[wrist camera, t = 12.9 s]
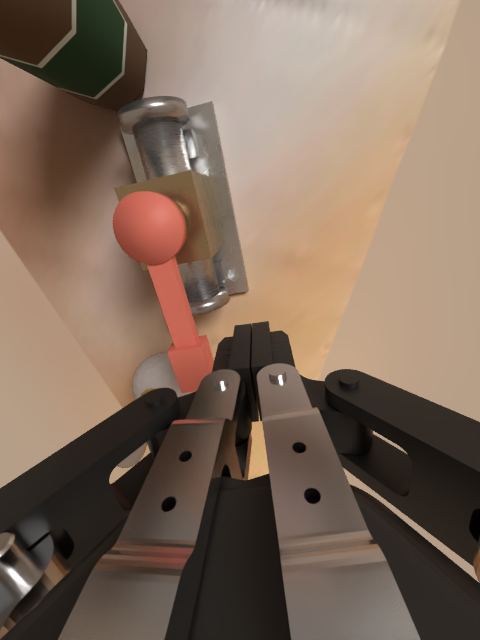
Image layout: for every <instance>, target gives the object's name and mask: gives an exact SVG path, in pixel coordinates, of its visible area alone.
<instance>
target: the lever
mask: <svg viewBox="0 0 480 640" xmlns="http://www.w3.org/2000/svg"><path fill="white" fill-rule="evenodd" d="M113 229H114V234H115V237H116V239H117V241H118V243H119V245H120V246H121V248H122V249H123V250H124V251H125V253H127V254H128V255H129V256H130V257H131V258H133V259H135V260H136V261H139V262H141V263H145V264H147V267H148V270H149V272H150V275H151V278H152V281H153V284H154V287H155V290H156V293H157V296H158V299H159V302H160V305H161V308H162V311H163V314H164V317H165V320H166V323H167V326H168V328H169V331H170V334H171V337H172V340H173V344H172V345H171V347H170V348H169V350H168V352H167V353H168V356H169V358H170V361H171V364H172V367H173V370H174V373H175V375H176V378H177V381H178V384H179V387H180V390H181V392H182V393H187V392H195V391H197V389H198V387H199V385H200V382H201V380H202V379H203V378H204V377H205V376H206V375H208V374H209V373H211V372H212V368H213V364H214V360H213V356H212V353H211V349H210V346H209V342H208V339H207V335H204V336H198V332H197V329H196V326H195V322H194V319H193V315H192V312H191V309H190V305H189V302H188V299H187V295H186V292H185V288H184V285H183V282H182V278H181V275H180V272H179V268H178V265H177V261H176V258H175V255H176V254H177V253H178V252H179V251H180V250H181V248H182V247H183V245H184V243H185V240H186V235H187V225H186V220H185V217H184V215H183V213H182V211H181V209H180V208H179V206H178V205H177V204H176V203H175V202H174V201H173V200H172V199H170V198H169V197H167V196H166V195H164V194H161V193H158V192H149V191H139V192H134V193H131V194H129V195H127V196H126V197H124V198H123V199H122V200H121V201H120V202H119V204H118V205H117V207H116V209H115V212H114V216H113Z"/></svg>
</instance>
